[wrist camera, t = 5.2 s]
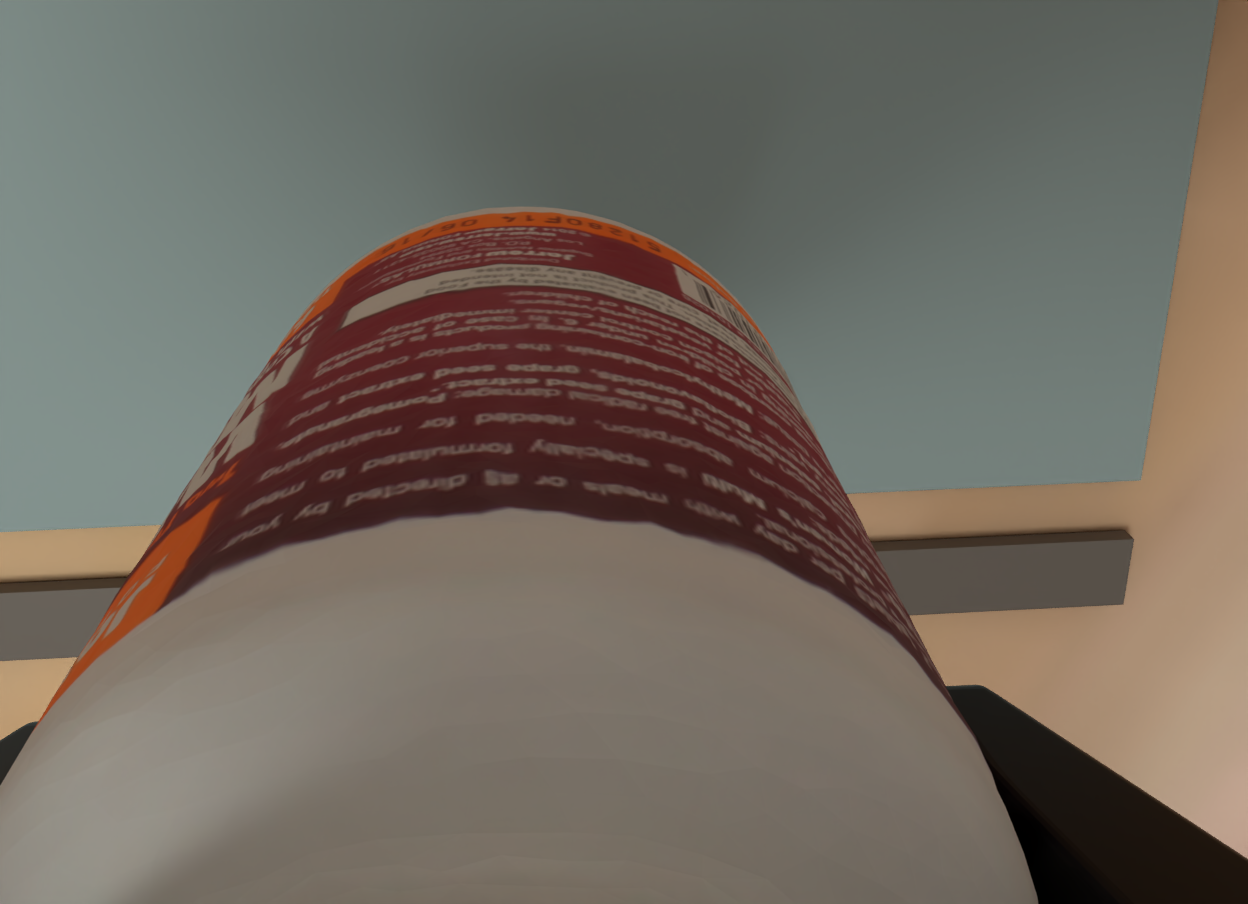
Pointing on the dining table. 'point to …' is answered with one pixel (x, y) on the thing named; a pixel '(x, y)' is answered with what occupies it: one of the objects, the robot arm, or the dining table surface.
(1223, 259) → the dining table surface
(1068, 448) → the mat
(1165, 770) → the dining table surface
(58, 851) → the pill bottle
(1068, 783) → the robot arm
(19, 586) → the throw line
